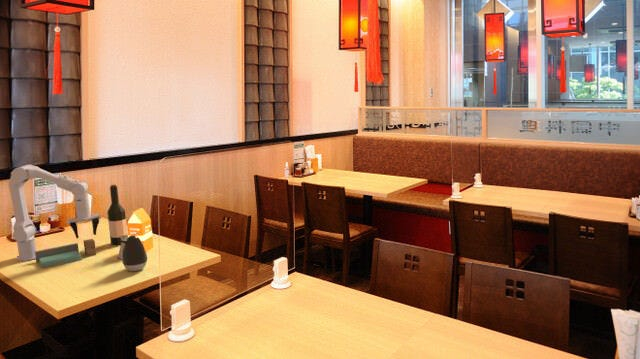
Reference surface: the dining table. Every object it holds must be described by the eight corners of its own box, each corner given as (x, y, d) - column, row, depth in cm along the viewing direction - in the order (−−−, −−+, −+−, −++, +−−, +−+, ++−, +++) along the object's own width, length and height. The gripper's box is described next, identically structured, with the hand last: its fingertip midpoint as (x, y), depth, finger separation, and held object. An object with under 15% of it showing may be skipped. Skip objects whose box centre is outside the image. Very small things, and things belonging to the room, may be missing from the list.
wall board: (36, 261, 235) (34, 251, 234) (78, 253, 246) (77, 243, 245) (40, 268, 226) (39, 257, 225) (84, 259, 237) (82, 248, 236)
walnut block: (85, 254, 243) (83, 240, 242) (94, 252, 246) (92, 238, 244) (87, 256, 240) (85, 242, 239) (96, 254, 242) (94, 240, 241)
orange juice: (129, 252, 244) (125, 212, 240) (139, 246, 252) (134, 207, 248) (145, 253, 242) (140, 212, 239) (153, 247, 251) (149, 207, 247)
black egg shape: (118, 270, 221) (114, 236, 218) (141, 263, 228) (137, 230, 225) (129, 275, 214) (126, 240, 211) (152, 268, 221) (149, 234, 219)
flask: (128, 259, 234) (126, 238, 232) (114, 259, 235) (112, 238, 233) (137, 254, 241) (135, 234, 239) (123, 254, 242) (121, 233, 240)
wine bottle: (131, 242, 261) (125, 184, 255) (117, 246, 254) (111, 187, 248) (121, 239, 265) (115, 182, 259) (107, 244, 258) (100, 186, 252)
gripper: (67, 212, 230) (71, 241, 232) (101, 206, 238) (104, 234, 241) (64, 209, 235) (67, 237, 238) (97, 204, 244) (100, 231, 246)
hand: (86, 236), depth 240 cm, fingers open, 7 cm apart
